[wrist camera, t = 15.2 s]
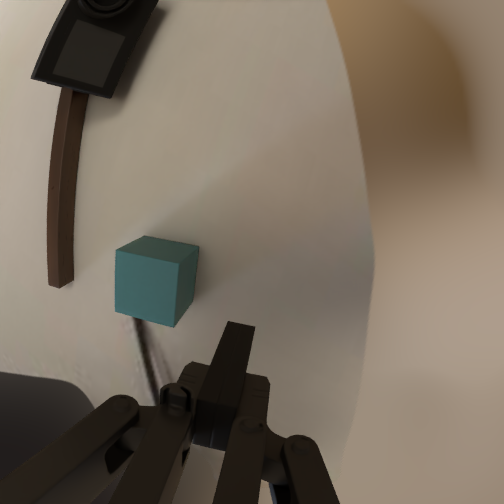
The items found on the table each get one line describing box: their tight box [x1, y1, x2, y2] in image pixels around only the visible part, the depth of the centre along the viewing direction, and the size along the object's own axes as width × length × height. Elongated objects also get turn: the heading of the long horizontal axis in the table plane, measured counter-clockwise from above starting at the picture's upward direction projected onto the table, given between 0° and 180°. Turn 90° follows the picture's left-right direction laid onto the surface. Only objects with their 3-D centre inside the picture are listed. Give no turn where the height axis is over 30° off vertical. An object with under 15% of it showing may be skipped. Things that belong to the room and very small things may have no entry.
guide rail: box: [47, 87, 89, 288], centre depth 22 cm, size 2×42×2 cm, turn 171°
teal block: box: [115, 236, 199, 328], centre depth 25 cm, size 5×5×5 cm
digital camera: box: [31, 0, 159, 99], centre depth 18 cm, size 10×5×7 cm
